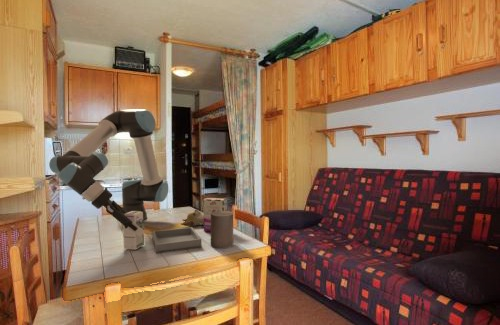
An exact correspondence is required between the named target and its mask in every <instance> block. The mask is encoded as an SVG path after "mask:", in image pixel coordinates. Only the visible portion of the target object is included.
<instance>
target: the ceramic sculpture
mask: <svg viewBox="0 0 500 325" xmlns="http://www.w3.org/2000/svg"><path fill="white" fill-rule="evenodd" d="M182 221H183V222H182V223H180V225H181V226H185V227H192V226H198V225H202V226H204V212H201V211H200V210H198V209H194V211H193V212H189V213H188V214H187V215H186V218H185V219H184V218H183V219H182ZM184 221H185V222H184Z"/></svg>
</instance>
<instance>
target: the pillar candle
mask: <svg viewBox="0 0 500 325" xmlns="http://www.w3.org/2000/svg"><path fill="white" fill-rule="evenodd" d="M233 245H234V212H232V211H229V210H227V211H215V212H212V213H211V232H210V246H211V247H212V248H216V249H228V248H231V247H232V246H233Z"/></svg>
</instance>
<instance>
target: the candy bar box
mask: <svg viewBox="0 0 500 325" xmlns="http://www.w3.org/2000/svg"><path fill="white" fill-rule="evenodd" d="M215 211H228V198H223V197H222V198H217V197H206V198H203V213H204V225H203V232H206V233H207V232H208V233H211V213H212V212H215Z"/></svg>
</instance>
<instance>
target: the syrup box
mask: <svg viewBox="0 0 500 325" xmlns="http://www.w3.org/2000/svg"><path fill="white" fill-rule="evenodd" d="M124 215H125V216H126V217H127V218H129V219H130V220H131V221H132V222H134V223H135V224H137V225H138V226H139V227H140V228H142V229H143V230H144V228H143V226H144V219H143V212H142V211H131V212H128V213H125V214H124ZM144 231H145V230H144ZM122 232H123V234H122V235H123V236H122V237H123V249H126V250H137V249H139V248H141V247H143V246H144V245H145V236H144V235H145V233H144V234H143V235H142V236H141V237H139V236H138V235H137V234H136V233H134V232H133V231H132V230H131V229H129V228H128V227H127V228H125V226H124V225H123V224H122Z"/></svg>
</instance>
